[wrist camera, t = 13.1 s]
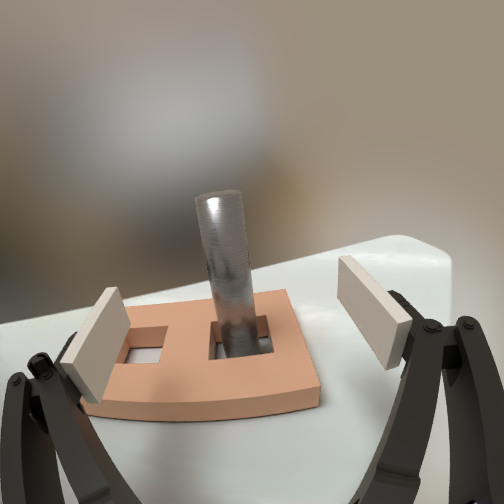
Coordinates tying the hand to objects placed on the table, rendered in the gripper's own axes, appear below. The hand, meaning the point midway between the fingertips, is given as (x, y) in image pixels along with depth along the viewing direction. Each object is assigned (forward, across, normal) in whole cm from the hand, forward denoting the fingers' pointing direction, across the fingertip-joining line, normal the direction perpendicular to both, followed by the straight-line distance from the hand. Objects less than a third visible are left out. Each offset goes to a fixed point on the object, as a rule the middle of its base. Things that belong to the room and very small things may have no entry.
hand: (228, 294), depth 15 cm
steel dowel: (+4, 0, -9) cm, 10 cm away
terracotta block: (+4, -4, -9) cm, 11 cm away
